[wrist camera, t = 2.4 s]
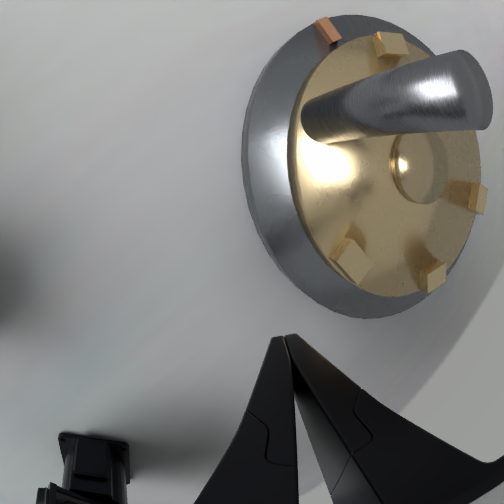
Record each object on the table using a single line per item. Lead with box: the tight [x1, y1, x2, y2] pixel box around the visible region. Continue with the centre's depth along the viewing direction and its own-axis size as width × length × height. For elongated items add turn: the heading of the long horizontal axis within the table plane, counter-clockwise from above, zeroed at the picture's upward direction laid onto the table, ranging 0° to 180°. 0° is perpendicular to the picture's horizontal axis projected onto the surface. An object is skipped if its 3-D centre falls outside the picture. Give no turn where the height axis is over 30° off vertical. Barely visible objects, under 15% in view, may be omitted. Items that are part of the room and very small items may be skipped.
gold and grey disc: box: [241, 15, 469, 319], centre depth 23 cm, size 26×26×2 cm
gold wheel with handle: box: [287, 32, 493, 297], centre depth 17 cm, size 21×21×12 cm
